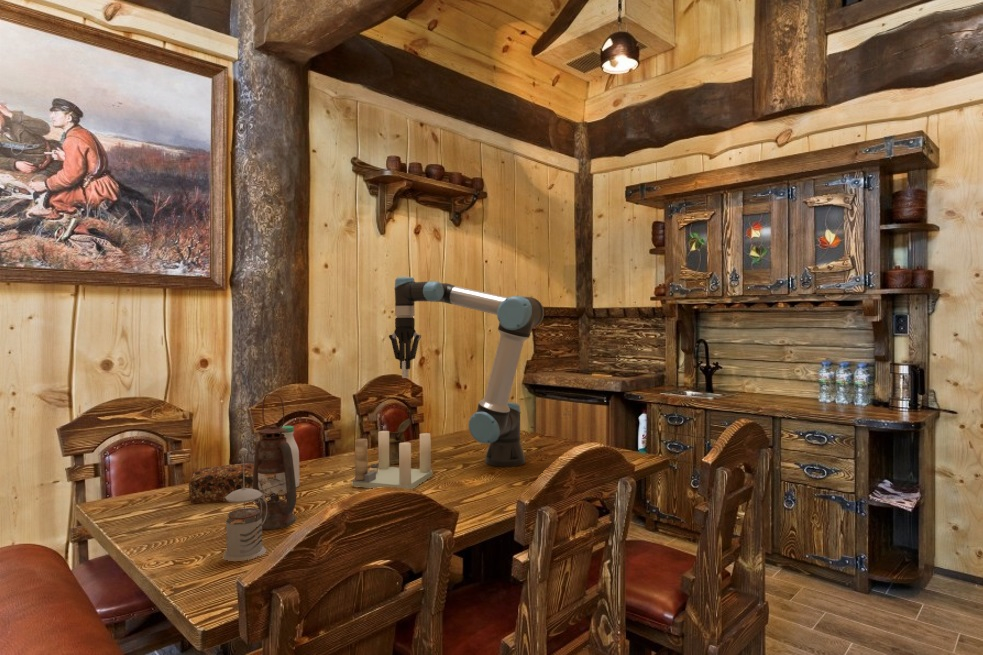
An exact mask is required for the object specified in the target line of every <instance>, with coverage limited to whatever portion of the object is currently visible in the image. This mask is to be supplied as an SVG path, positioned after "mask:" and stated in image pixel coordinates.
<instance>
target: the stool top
mask: <svg viewBox="0 0 983 655" xmlns="http://www.w3.org/2000/svg"><path fill="white" fill-rule="evenodd" d="M389 432H390V431H389V430H380V431H378V432H377V436H378V437H377V438H378V444H377V445H378V472H373V471H371V472H369V473H367V474H365V475H364V480H356V479H355V478H353V479H350V482H352V487H353V486H360V487H365V488H364V489H369V490H370V489H371V488H377V487H397V488H405V489H411V491H413V490H414V489H415V488H417V487H418V486H420V485H421V484H423V483H424V482H427V481H428V480H429V479H430V477H431V478H432V477H433V476H434V470H432V466H431V465H432V464H431V463H432V458H431V456H432V453H431V450H432V449H431V445H432V444H431V442H432V441H431V433H430V432H425V433H424V432H422V433H419V468H418V469H417V468H412V443H411V442H408V441H405V442H403V443H401V442H400V443H399V464H398V467H396V466H390V465H389ZM427 479H428V480H427ZM422 482H423V483H422ZM419 484H420V485H419ZM369 487H371V488H369ZM413 488H414V489H413Z"/></svg>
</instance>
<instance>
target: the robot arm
mask: <svg viewBox="0 0 983 655" xmlns="http://www.w3.org/2000/svg"><path fill="white" fill-rule="evenodd" d="M394 298H395V299H394V316H395V319H394V325H395V327H394V328H395V329H394V332H393V333H392V334H389V335H388V338H389V339H390V341H391V345H392V350H393V354H394V358H395V360H398V361H399V369H400V370H401V378H402V379H407V378H409V374H410V373H409V370H410V369H411V361H412V360H415V359H416V355H417V351H418V346H419V341H420V340H421V339H422V335H421V334H418V333H417V331H416V330H415V326H416V325H415V317H414V316H415V315H416V314H415V302H431V303H433V302H434V303H437V302H439V303H444V304H445V303H446V304H450V305H452V306H453V305H454V306H458V307H463V308H467V309H470V310H475V311H479V312H484V313H488V314H491V315H495V316H496V317H497V320H498V328H497V331H498V332H499V334H500V336H499V340H498V344H497V348H496V350H495V351H496V353H495V356H494V359H493V364H492V367H491V371H490V374H489V375H490V376H489V379H488V382H487V385H486V386H487V387H486V390H485V394H484V398H482V399H481V400H479V401H478V405H477V408H476V412H474V413H473V414H472V415H471V416H470V419H469V420H468V430H469V434H471V436H472V438H473V439H474V440H475V441H476V442H478V443H481V444H489V445H488V447H487V450H486V454H485V457H484V458H485V460H484V461H485V464H487V465H489V466H492V467H493V466H494V467H501V468H504V467H505V468H506V467H507V468H509V467H511V468H512V467H517V466H522V465H524V464H525V463H526V461H525V460H526V458H525V453H524V449H523V447H522V444H521V413H522V412H521V406H520V404H518V403H516V402H509V399H510V396H511V392H512V389H513V385H514V380H515V378H516V377H515V376H516V373H517V369H518V365H519V361H520V357H521V354H522V350H523V347H524V343H525V341H527V340H528V339H530V336H531V333H532V329H534V328H536V327H538V326H540V324H541V323H542V321H543V320H544V316H545V310H544V306H543V305H542V303H541V301H539V299H537V298H535V297H533V296H532V297H531V296H523V295H512V296H509V297H508V296H503V295H499V294H494V293H491V292H487V291H482V290H477V289H471V288H468V287H464V286H463V287H462V286H458V285H453V284H451V283H446V282H445V283H442V282H440V281H435V280H429V281H415V278H414V277H411V276H399V277H398V276H397V277H396V278H395V279H394ZM397 339H398V340H397ZM412 339H413V341H412Z"/></svg>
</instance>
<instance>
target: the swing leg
mask: <svg viewBox="0 0 983 655" xmlns="http://www.w3.org/2000/svg"><path fill="white" fill-rule="evenodd" d="M368 458H369V457H368V439H367V438H358V439H356V438H355V440H354V466H355V467H354V472H355V473H354V477H355V478H354V479H356V480H364V475H365V474H367V473H369V472H371V471H373V472H378V468H379V463H372V464H371V465H370V466H371V467H370V468H368V467H369V465H368V460H369V459H368Z"/></svg>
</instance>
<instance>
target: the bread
mask: <svg viewBox="0 0 983 655" xmlns="http://www.w3.org/2000/svg"><path fill="white" fill-rule="evenodd" d="M253 472H254V462H252V463H251V462H247V463H244V488H249V489H253ZM242 488H243V463H235V464H226V465H220V466H219V465H216V466H209V467H202V468H200V469H197V470H195V472H193V473H192V474H191V477H190V478H189V481H188V494H189V496H188V497H189V501H190V504H197V503H198V504H199V503H200V502H206V503H216V502H217V501H221V502H222V501H223V502H228V501H227V500H226V498H225V497H226V496H227V495H229V494H230V493H231V492H233V491H235V490H239V489H242Z"/></svg>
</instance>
